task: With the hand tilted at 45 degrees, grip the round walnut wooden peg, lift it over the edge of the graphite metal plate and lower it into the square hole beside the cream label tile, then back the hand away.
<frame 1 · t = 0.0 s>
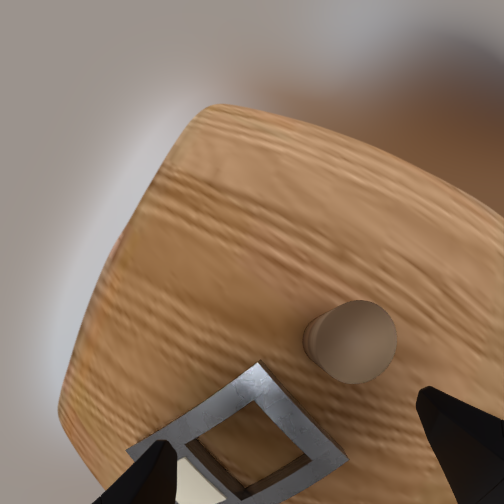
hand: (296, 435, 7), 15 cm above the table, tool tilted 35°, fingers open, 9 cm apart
hole plate: (233, 455, 19), on the table
walnut peg: (327, 339, 22), on the table
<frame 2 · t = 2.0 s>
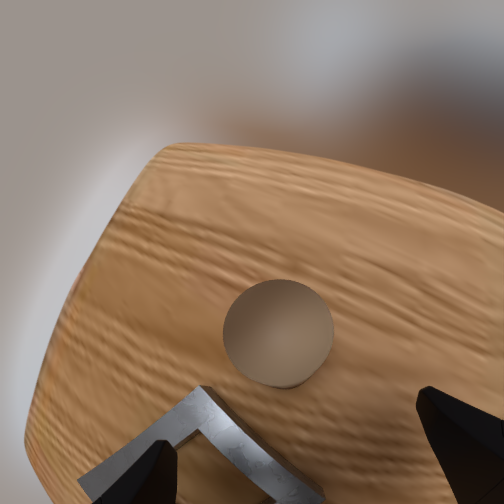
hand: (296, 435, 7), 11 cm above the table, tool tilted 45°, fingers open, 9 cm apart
hole plate: (190, 495, 14), on the table
walnut peg: (285, 360, 19), on the table
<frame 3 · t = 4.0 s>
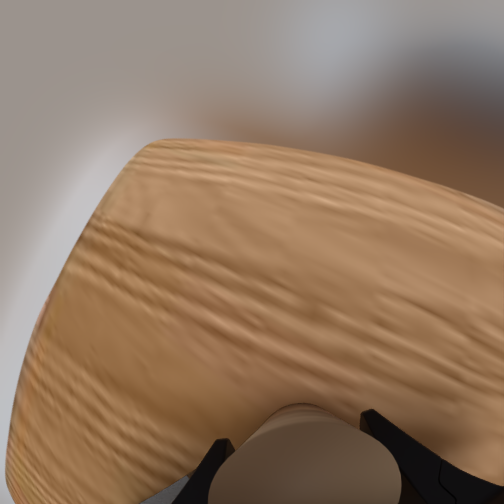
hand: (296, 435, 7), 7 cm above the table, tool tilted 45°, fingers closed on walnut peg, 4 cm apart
walnut peg: (299, 438, 12), on the table, touching gripper
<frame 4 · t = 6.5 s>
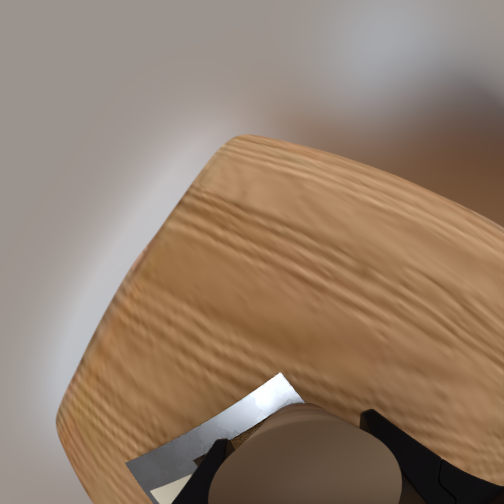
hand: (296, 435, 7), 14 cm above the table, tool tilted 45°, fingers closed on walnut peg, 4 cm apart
hole plate: (245, 477, 16), on the table
walnut peg: (299, 438, 12), point 7 cm above the table, touching gripper
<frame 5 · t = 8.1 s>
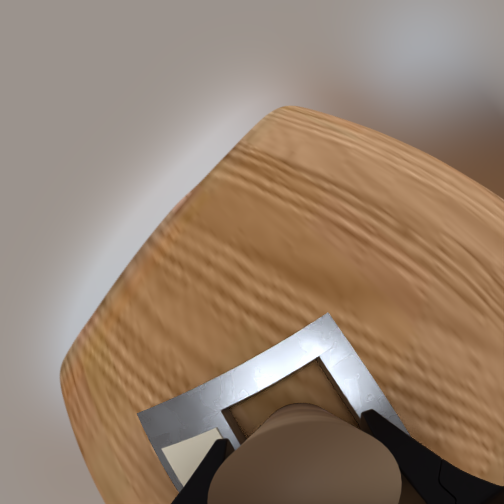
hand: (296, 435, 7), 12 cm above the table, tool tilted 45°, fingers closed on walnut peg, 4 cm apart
hole plate: (274, 438, 16), on the table
walnut peg: (299, 438, 12), point 5 cm above the table, touching gripper
when the fingers open (8 cm above the table, at t = 9.2 s): walnut peg drops 1 cm, resting in hole plate.
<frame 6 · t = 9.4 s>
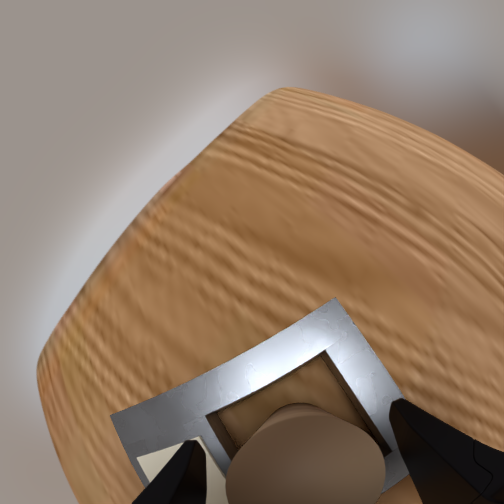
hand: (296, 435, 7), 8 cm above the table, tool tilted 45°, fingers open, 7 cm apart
hole plate: (270, 449, 13), on the table
walnut peg: (298, 435, 14), resting in hole plate
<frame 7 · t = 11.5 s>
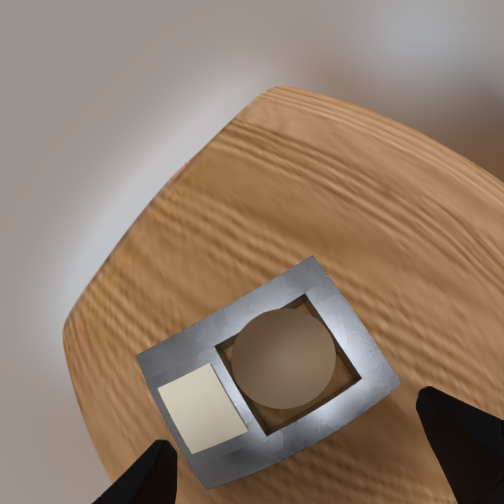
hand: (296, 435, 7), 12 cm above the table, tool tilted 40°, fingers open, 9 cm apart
hole plate: (265, 379, 19), on the table
walnut peg: (287, 367, 19), resting in hole plate
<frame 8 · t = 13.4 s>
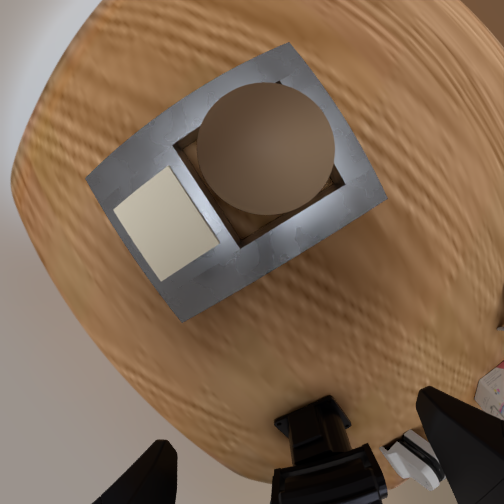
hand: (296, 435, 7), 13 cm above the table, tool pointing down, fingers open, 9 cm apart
ink cartridge box: (493, 375, 25), on the table
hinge: (410, 449, 28), on the table
hole plate: (233, 179, 18), on the table
walnut peg: (257, 164, 18), resting in hole plate
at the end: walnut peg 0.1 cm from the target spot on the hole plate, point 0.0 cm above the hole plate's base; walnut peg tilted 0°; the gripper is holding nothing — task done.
